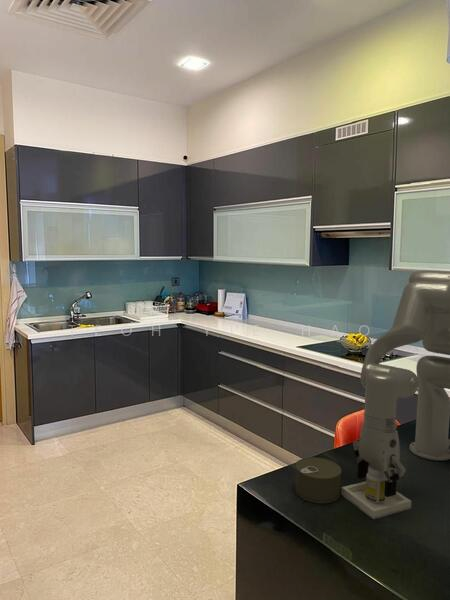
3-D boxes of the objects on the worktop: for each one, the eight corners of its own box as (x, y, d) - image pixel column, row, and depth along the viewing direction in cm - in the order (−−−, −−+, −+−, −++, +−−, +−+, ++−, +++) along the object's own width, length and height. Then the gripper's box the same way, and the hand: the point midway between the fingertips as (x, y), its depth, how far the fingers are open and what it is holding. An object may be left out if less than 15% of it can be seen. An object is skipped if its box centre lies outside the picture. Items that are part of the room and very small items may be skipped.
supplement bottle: (382, 494, 116) (383, 463, 116) (387, 504, 112) (388, 472, 111) (363, 493, 117) (365, 462, 116) (367, 503, 112) (369, 471, 111)
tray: (376, 486, 122) (376, 478, 122) (410, 508, 111) (411, 500, 111) (341, 494, 117) (341, 487, 117) (373, 519, 106) (374, 511, 106)
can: (350, 497, 116) (351, 471, 116) (314, 508, 110) (315, 482, 110) (319, 476, 127) (320, 453, 126) (285, 486, 121) (286, 462, 120)
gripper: (417, 431, 106) (413, 500, 107) (367, 408, 121) (363, 468, 123) (394, 436, 103) (390, 506, 104) (345, 411, 118) (342, 473, 120)
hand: (375, 486), depth 114 cm, fingers open, 9 cm apart
